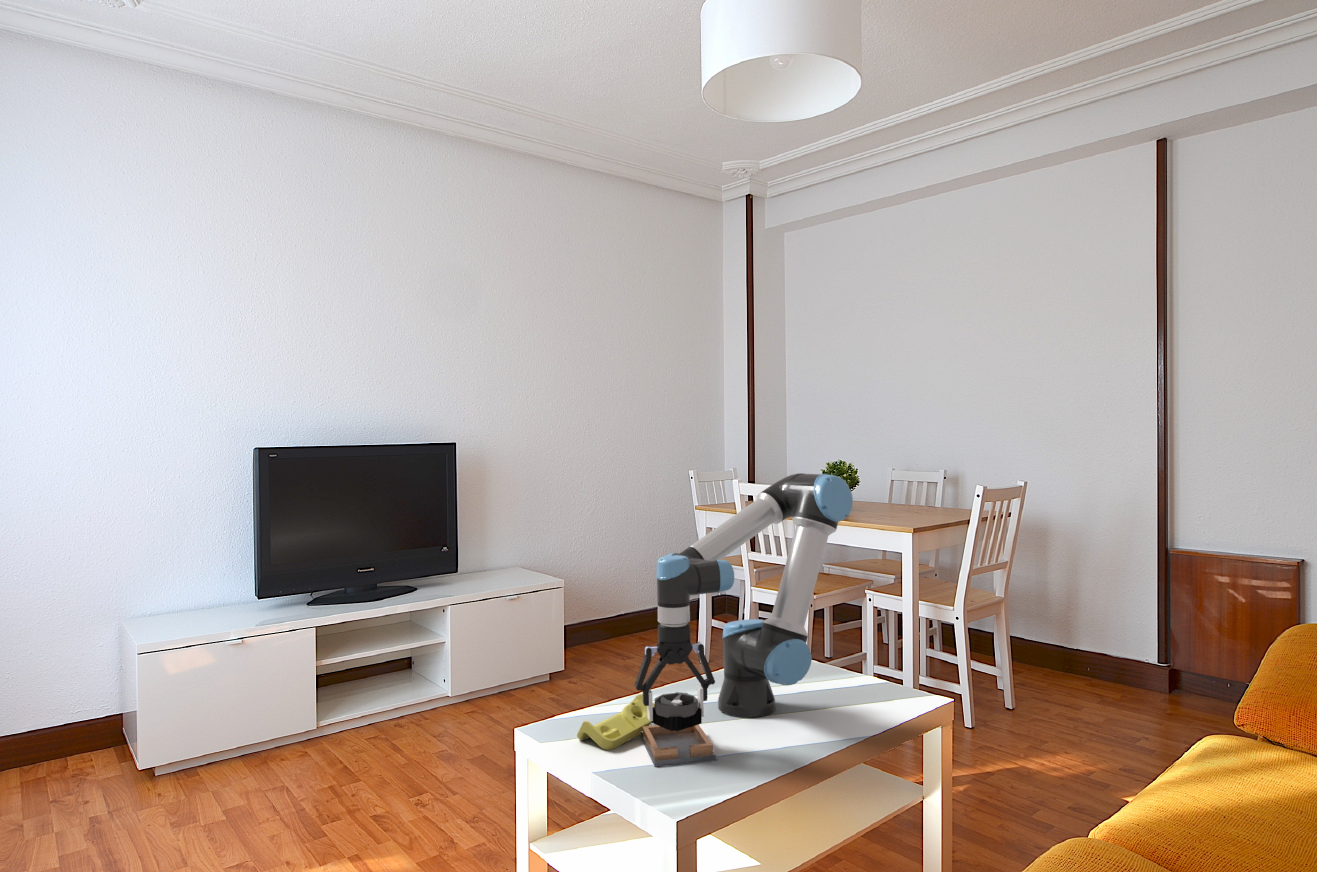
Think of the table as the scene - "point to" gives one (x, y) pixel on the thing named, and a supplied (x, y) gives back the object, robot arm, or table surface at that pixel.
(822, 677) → the table surface
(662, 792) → the table surface
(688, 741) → the board
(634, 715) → the plastic component
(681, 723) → the cpu cooler
